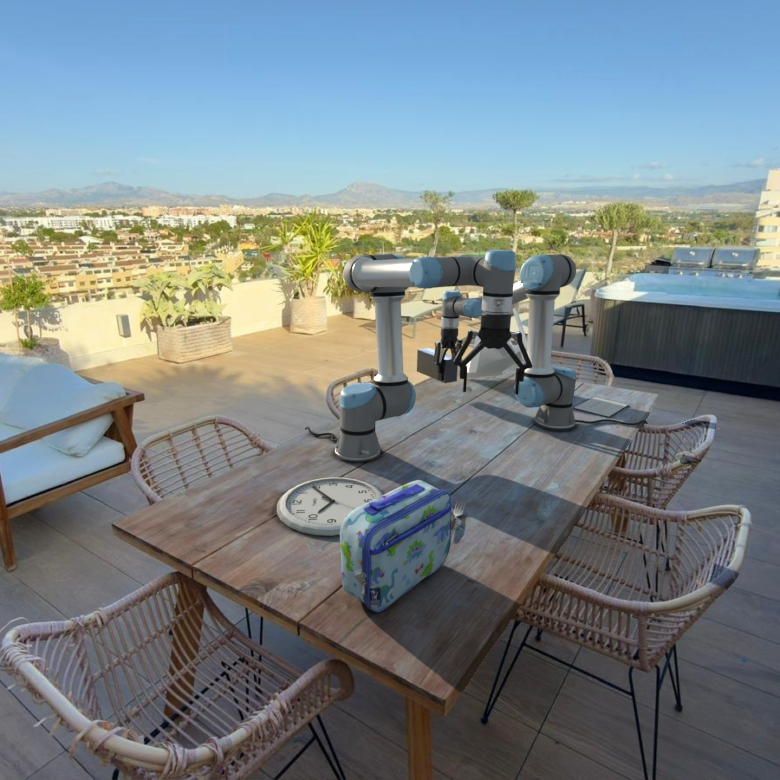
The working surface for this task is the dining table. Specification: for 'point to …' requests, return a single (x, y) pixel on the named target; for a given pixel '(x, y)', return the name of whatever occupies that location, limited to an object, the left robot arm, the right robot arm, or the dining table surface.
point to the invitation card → (601, 406)
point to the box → (428, 368)
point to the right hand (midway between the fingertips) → (446, 378)
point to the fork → (457, 514)
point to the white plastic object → (495, 357)
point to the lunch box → (394, 543)
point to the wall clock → (323, 504)
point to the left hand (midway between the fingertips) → (490, 391)
